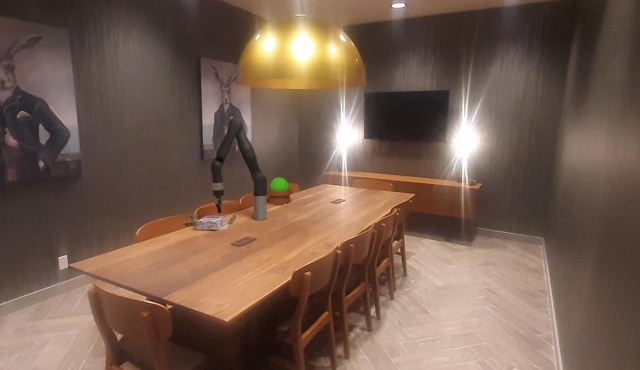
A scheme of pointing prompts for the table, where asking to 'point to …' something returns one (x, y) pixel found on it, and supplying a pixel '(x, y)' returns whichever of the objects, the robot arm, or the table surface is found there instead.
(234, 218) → the rack
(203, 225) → the candy box
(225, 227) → the mat
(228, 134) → the robot arm
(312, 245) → the table surface
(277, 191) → the potted cactus
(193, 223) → the offcut stack
